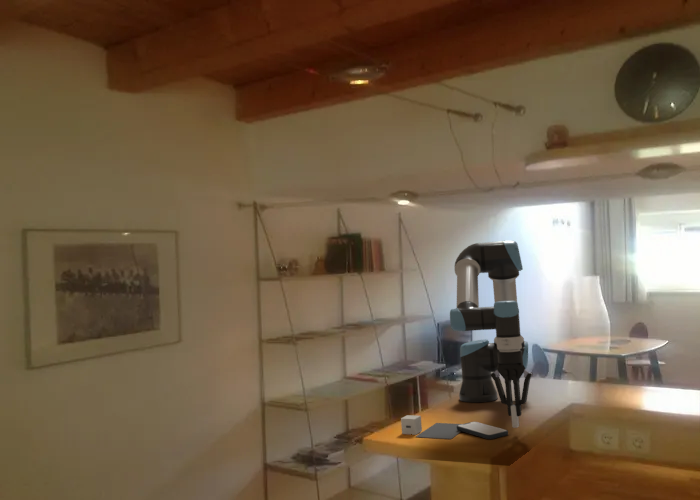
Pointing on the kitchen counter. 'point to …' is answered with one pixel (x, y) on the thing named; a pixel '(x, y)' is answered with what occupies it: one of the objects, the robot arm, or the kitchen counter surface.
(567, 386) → the kitchen counter surface
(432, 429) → the charging mat
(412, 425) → the charger block
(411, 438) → the kitchen counter surface
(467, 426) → the phone case
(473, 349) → the robot arm
